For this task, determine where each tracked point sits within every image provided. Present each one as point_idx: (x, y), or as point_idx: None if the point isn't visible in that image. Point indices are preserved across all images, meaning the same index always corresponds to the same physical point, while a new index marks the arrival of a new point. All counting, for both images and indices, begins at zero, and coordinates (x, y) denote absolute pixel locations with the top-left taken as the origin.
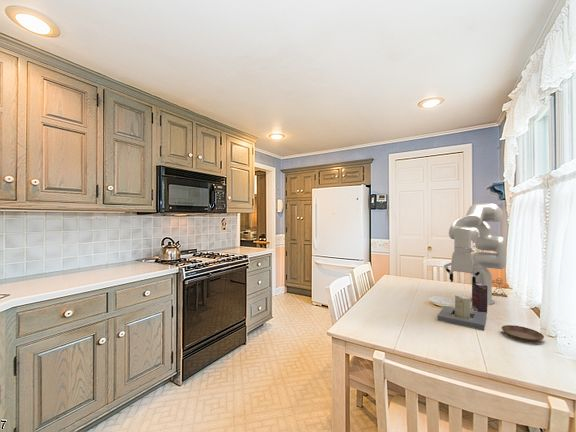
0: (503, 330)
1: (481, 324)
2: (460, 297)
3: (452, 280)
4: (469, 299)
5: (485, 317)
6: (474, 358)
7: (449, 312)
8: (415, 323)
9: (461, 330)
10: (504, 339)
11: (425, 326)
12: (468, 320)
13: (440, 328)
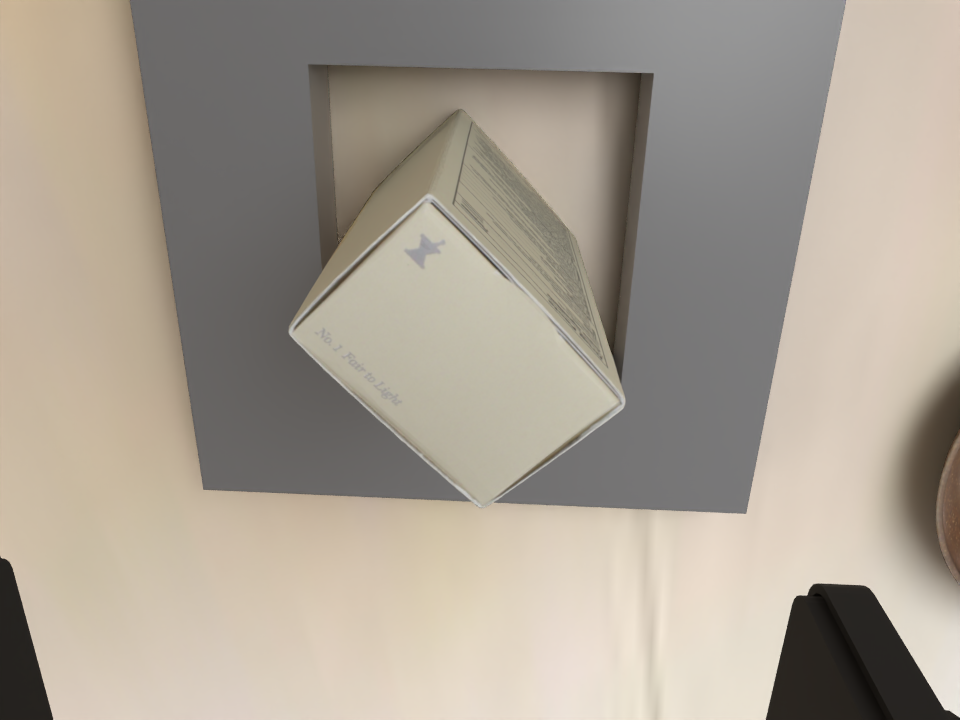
0: (941, 547)
1: (718, 508)
2: (421, 442)
3: (22, 718)
4: (604, 410)
5: (810, 164)
6: None
7: (292, 251)
8: (85, 661)
9: (508, 603)
10: (894, 607)
11: (192, 682)
12: (570, 452)
13: (322, 657)
